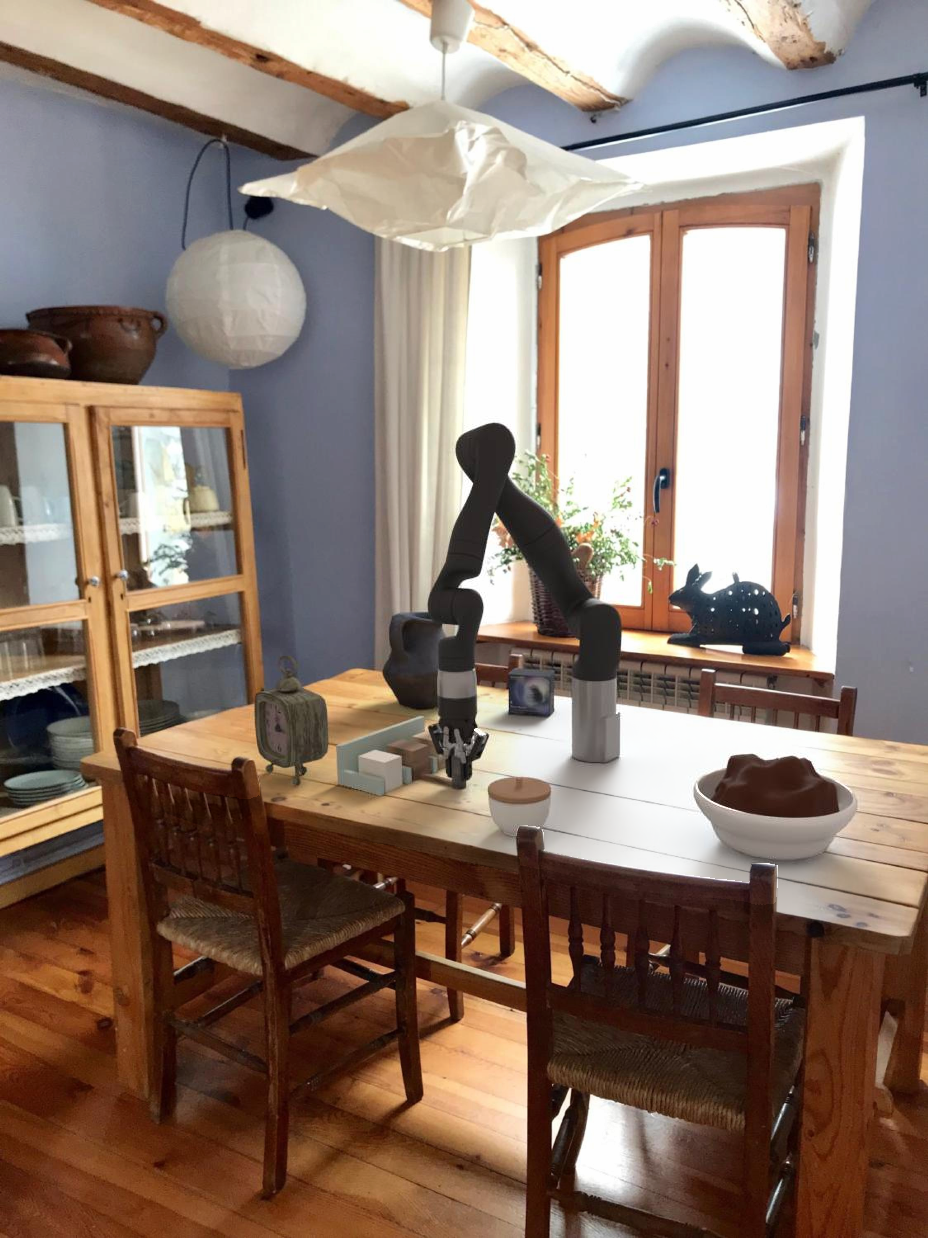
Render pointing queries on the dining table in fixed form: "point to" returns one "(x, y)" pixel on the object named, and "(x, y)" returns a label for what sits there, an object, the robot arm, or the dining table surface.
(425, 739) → the oak block
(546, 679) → the small box
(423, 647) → the pitcher
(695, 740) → the dining table surface
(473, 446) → the robot arm
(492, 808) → the lidded jar
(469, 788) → the dining table surface
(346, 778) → the lane shelf
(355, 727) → the dining table surface
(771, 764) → the bowl of brown mass
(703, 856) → the dining table surface
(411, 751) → the tow block
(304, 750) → the tabletop clock
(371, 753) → the cream block
